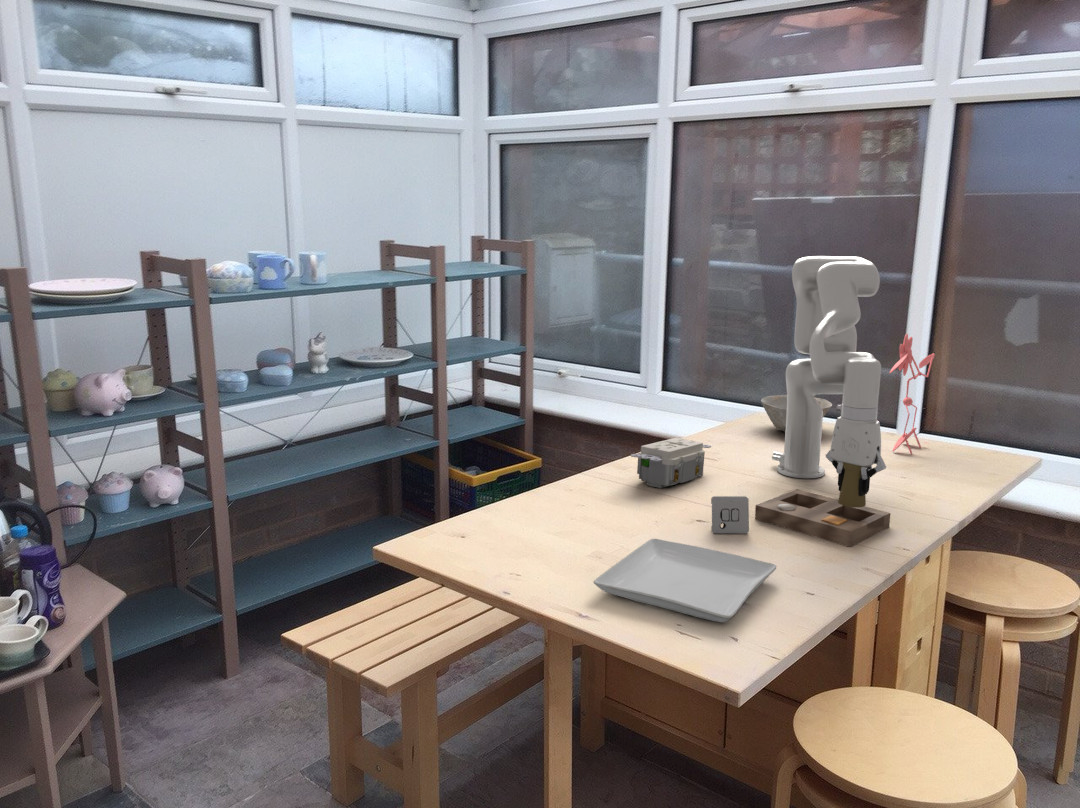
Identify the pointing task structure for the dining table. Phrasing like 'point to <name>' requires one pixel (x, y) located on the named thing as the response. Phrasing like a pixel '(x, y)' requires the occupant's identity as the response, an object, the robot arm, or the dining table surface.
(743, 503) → the electrical switch
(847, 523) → the socket board
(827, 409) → the ceramic bowl
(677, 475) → the electrical outlet
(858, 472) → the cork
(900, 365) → the figurine
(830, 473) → the dining table surface
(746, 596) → the square plate
